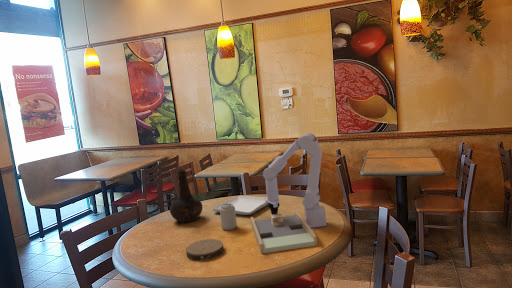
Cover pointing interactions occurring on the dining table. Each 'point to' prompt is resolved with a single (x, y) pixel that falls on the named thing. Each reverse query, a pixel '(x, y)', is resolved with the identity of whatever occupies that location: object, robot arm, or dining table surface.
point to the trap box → (283, 234)
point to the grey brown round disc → (204, 249)
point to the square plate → (244, 204)
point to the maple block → (276, 219)
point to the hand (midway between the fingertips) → (274, 217)
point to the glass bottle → (185, 202)
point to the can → (228, 216)
